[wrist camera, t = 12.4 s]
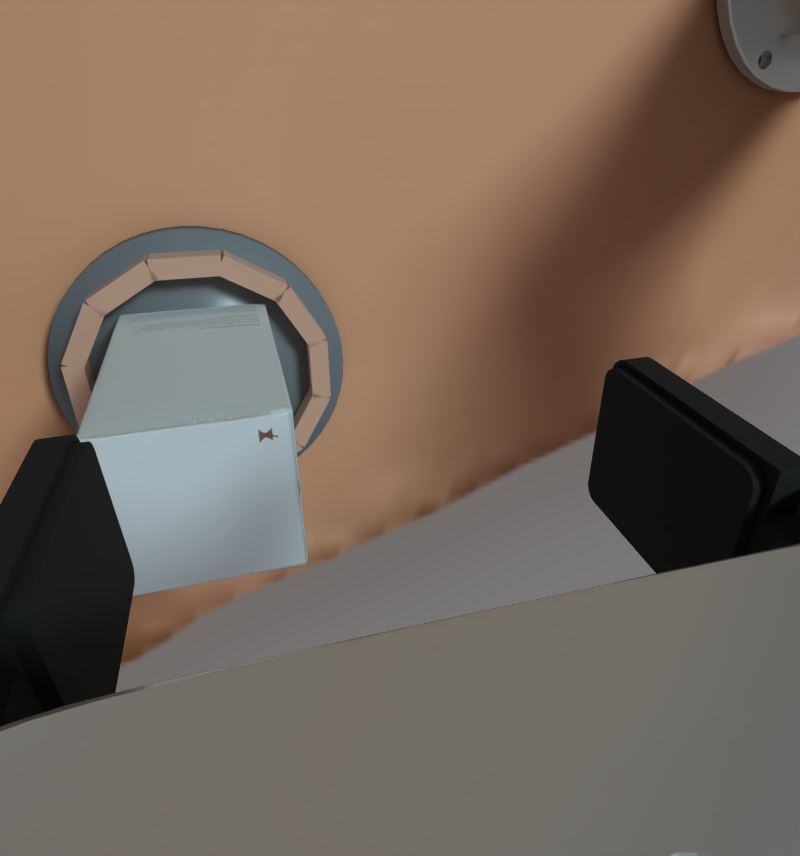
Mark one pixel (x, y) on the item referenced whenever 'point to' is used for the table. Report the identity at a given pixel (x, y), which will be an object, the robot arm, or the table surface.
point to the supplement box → (198, 446)
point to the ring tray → (198, 288)
